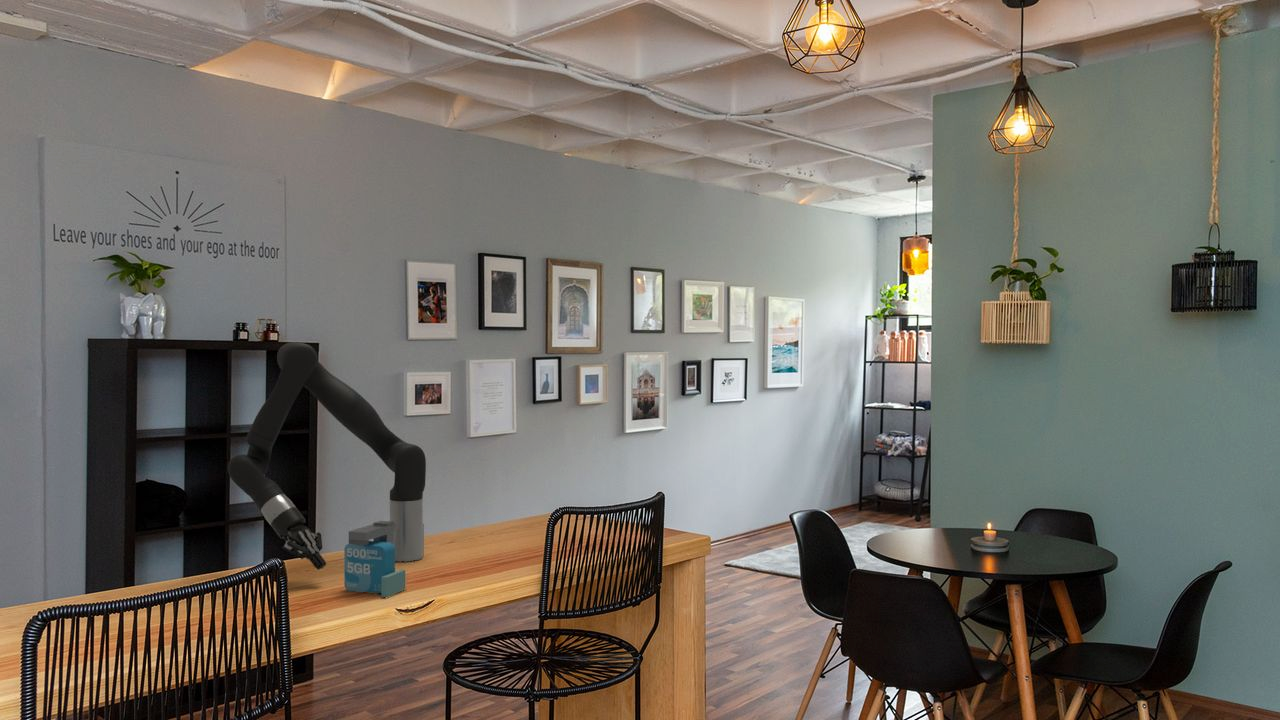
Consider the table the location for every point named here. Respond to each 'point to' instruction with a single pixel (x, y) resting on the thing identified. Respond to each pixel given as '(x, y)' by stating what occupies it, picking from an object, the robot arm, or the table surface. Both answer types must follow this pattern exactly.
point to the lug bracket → (373, 533)
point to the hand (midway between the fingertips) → (322, 566)
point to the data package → (367, 565)
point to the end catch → (392, 583)
